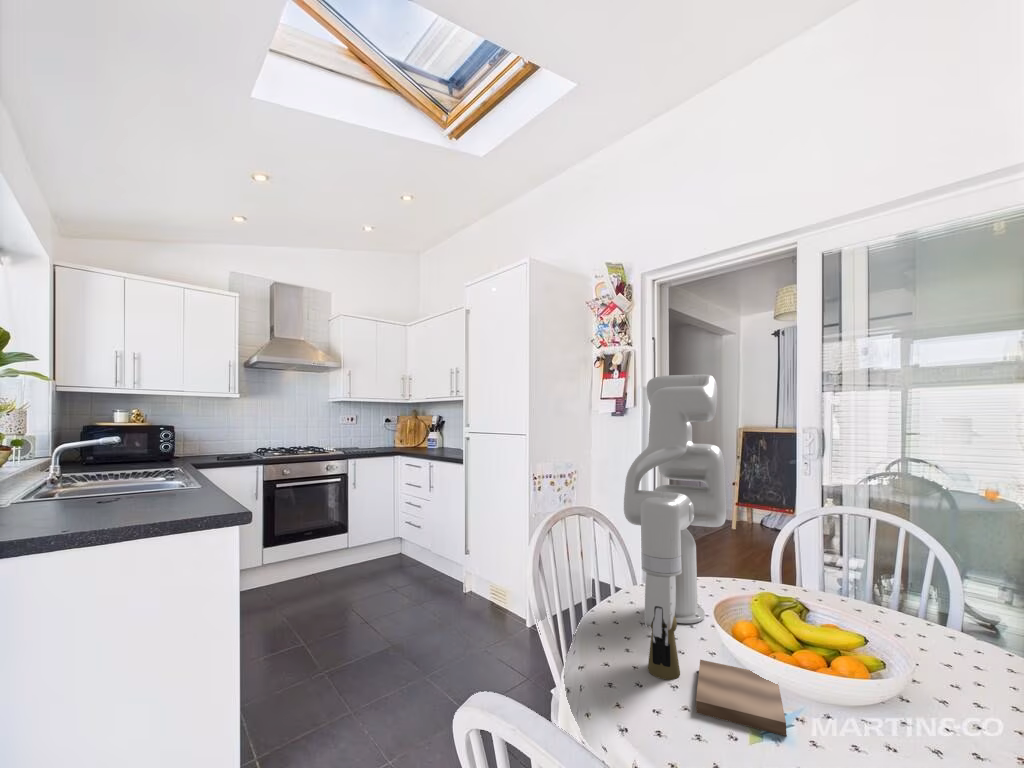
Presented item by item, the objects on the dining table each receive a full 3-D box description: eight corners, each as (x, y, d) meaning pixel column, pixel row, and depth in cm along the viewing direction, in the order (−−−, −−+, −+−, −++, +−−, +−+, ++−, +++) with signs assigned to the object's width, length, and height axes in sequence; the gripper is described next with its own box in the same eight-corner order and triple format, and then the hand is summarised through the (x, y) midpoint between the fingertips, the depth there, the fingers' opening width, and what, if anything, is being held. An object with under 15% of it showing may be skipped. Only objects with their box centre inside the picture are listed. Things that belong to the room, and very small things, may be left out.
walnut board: (700, 670, 89) (700, 659, 89) (777, 687, 83) (776, 675, 83) (696, 713, 76) (695, 700, 76) (786, 736, 70) (786, 722, 71)
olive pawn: (644, 674, 87) (643, 615, 88) (650, 659, 92) (649, 603, 93) (677, 683, 84) (676, 621, 85) (682, 667, 90) (681, 609, 90)
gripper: (648, 548, 99) (649, 636, 98) (634, 572, 84) (635, 676, 83) (684, 553, 96) (687, 643, 94) (677, 579, 81) (679, 686, 79)
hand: (663, 657), depth 89 cm, fingers closed on olive pawn, 4 cm apart
